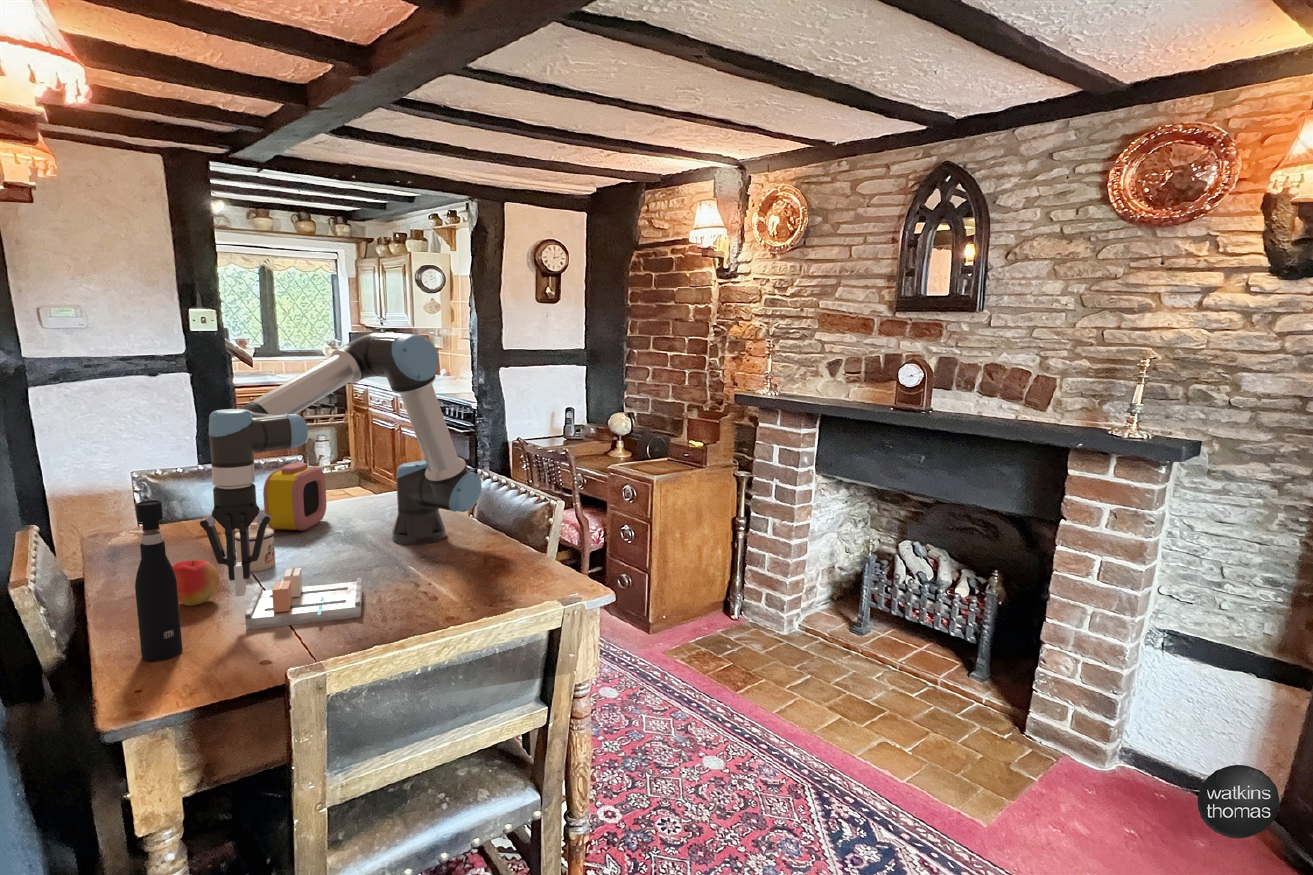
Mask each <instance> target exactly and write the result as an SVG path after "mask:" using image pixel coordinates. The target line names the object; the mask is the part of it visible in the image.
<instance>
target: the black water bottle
mask: <svg viewBox="0 0 1313 875" xmlns="http://www.w3.org/2000/svg"><path fill="white" fill-rule="evenodd" d="M162 505H163V504H162V501H161V500H155V499H153V500H143V501H139V502H137V503H136V504H135V508H136V509H135V510H136V511H135V512H136V520H137V522H138V523H142V524H141V525H142V532H143V533H141V536H140V539H141V540H140V542H141V543H140V545H139V547H140V558H141V559H140V562H139V564H138V568H137V572H136V575H135V576H136V577H135V585H134V589H135V599H136V602H135V603H136V610H137V621H138V633H139V641H140V644H139V645H140V653H141V654H140V655H141V660H142V661H145V662H148V663H149V662H150V663H151V662H152V663H153V662H155V663H156V662H161V661H166V660H170V659H173V658H175V657H177V656H179V655H180V654H181V653H182V652H183V639H182V629H181V628H182V627H181V618H180V604H179V603H180V602H178V592H177V580H176V576H175V573H174V570H173V567H172V566H173V565H172V564H171V562H170V560H169V558H168V557H167V554H166V545H165V544H166V543H165V542H166V541H165V540H163V539H164V538H163V533H162V531H160V529H161V527H160V524H159V522H160V521H161V520H163V518H164V517H163V507H162Z"/></svg>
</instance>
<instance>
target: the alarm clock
mask: <svg viewBox="0 0 1313 875" xmlns="http://www.w3.org/2000/svg"><path fill="white" fill-rule="evenodd" d="M264 481H265V482H264V484H263V493H262V494H263V510H264V512H263V513H264V514H270V515H271V516H272V517H271V519H270V521H269V523H268V524H267V526H268V528H269V529H272V530H273V531H276V530H288V531H289V530H291V531H293V530H294V531H299V532H302V531H307V530H309V529H311V528H312V527H314V526H316V525H317V524H319V523H320V522H321V521H322V520H323V519H324V517H325V514H326V511H327V487H326V486H327V485H326V477H325V473H324V472H323V470H322V469H321V468H320V467H317V466H313V467H308V466H307V463H306V462H294V463H290V464H287V465H284V466H283V467H281V469H278V470H275V471H273V472H271V473H269V474H268V476H267V478H266V479H265V480H264Z"/></svg>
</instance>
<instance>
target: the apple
mask: <svg viewBox="0 0 1313 875" xmlns="http://www.w3.org/2000/svg"><path fill="white" fill-rule="evenodd" d="M172 567H173V570H174V573H175V576H176V580H177V592H178V603H180V604H182V605H185V606H189V607H191V606H197V605H201V604H204V603H206V602H207V601H208V600H209V599H211V597H213V596H214V594H215V593H216V591H217V589H218V587H219V585H220V574H219V572H218V570H217V568H216V567H215V566H214V565H213V564H212V563H210V562H209V561H208V560H203V559H193V560H183V561H177V562H175V564H173V565H172Z"/></svg>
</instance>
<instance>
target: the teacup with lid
mask: <svg viewBox="0 0 1313 875" xmlns="http://www.w3.org/2000/svg"><path fill="white" fill-rule="evenodd" d="M258 527H259V523H258V522H252V523H251V524H250V526H249V545H250V555H252V554H253V549H254V545H255V540H256V536H257V531H258ZM274 536H275V530H274V529H272V528H270V527H266V530H265V534H264V539H263V543H262V547H261V552H260V556H259V558H258V560H257V561H253V562H251V563H250V569H251V573H253V572H255V573H256V572H261V571H265V570H269V569H271V568H272V567H274V566H275V565H276V554H275V553H276V552H275V538H274ZM235 546H236V559H237V560H236V562H242V558H241V542H240V533H239V531H238V532H236V533H235Z"/></svg>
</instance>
